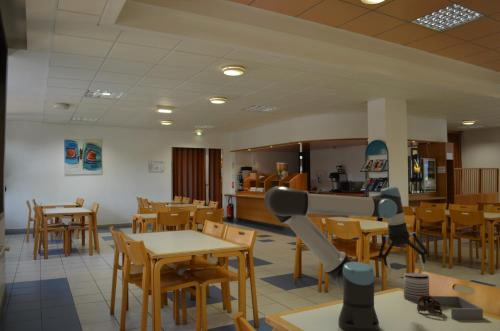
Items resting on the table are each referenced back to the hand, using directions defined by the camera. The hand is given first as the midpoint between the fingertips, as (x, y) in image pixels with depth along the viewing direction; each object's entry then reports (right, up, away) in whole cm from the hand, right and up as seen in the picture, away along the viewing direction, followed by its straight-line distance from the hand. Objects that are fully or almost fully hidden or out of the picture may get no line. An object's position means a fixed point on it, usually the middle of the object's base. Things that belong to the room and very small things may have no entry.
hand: (406, 271), depth 169 cm
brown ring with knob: (+10, -18, +1) cm, 20 cm away
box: (+22, -18, +1) cm, 28 cm away
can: (+12, -18, +19) cm, 29 cm away
